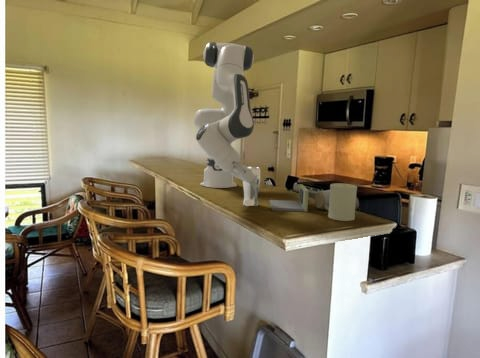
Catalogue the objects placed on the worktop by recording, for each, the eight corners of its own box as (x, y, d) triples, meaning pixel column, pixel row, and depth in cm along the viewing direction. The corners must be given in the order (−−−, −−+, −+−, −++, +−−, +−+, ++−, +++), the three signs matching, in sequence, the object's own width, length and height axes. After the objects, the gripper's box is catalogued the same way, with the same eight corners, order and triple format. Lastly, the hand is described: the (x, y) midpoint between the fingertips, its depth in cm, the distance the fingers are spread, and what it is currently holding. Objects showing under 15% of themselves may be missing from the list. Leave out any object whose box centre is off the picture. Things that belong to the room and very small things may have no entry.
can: (332, 220, 118) (335, 186, 117) (324, 214, 128) (326, 181, 126) (359, 221, 119) (362, 186, 117) (348, 214, 128) (351, 182, 126)
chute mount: (269, 202, 144) (270, 183, 143) (301, 203, 144) (302, 184, 143) (272, 210, 131) (272, 189, 129) (307, 211, 130) (308, 190, 129)
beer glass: (244, 202, 143) (245, 166, 141) (261, 203, 141) (262, 167, 139) (239, 205, 136) (240, 167, 134) (256, 207, 134) (258, 169, 132)
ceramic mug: (312, 207, 138) (313, 188, 137) (330, 206, 141) (331, 187, 139) (327, 214, 128) (329, 193, 127) (346, 213, 131) (348, 193, 130)
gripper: (244, 157, 124) (268, 183, 128) (227, 152, 143) (249, 175, 147) (232, 170, 123) (256, 196, 128) (216, 163, 142) (238, 186, 147)
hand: (252, 185), depth 138 cm, fingers closed on beer glass, 7 cm apart
